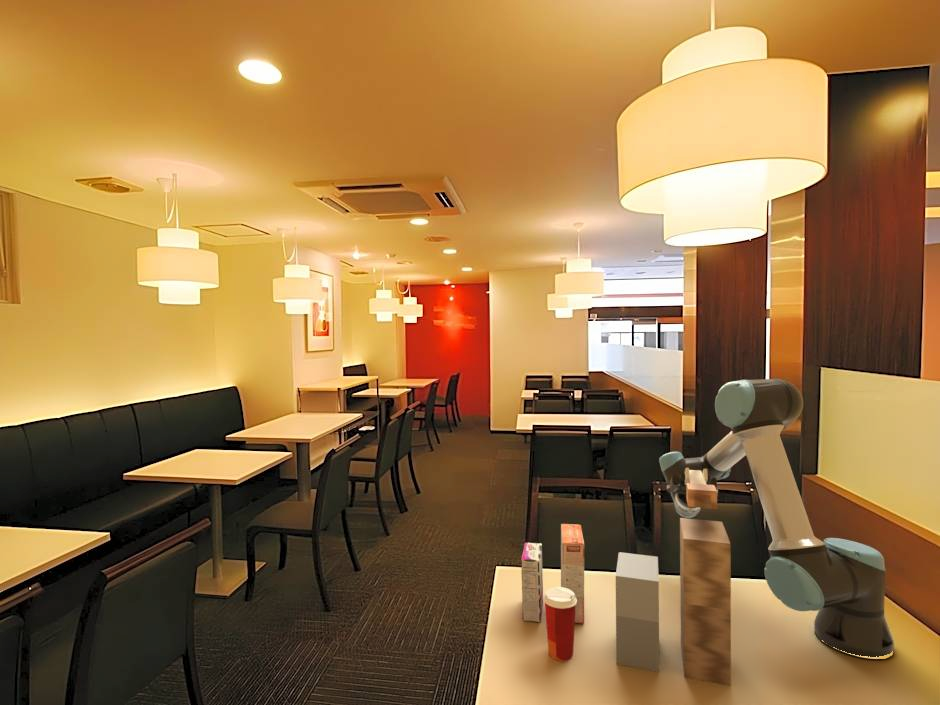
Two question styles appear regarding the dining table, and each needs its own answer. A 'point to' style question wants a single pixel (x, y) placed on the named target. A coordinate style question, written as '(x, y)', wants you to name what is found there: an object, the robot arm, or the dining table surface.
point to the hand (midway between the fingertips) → (696, 473)
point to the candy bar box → (532, 582)
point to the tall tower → (705, 600)
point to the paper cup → (560, 622)
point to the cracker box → (573, 565)
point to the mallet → (700, 491)
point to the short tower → (637, 611)
